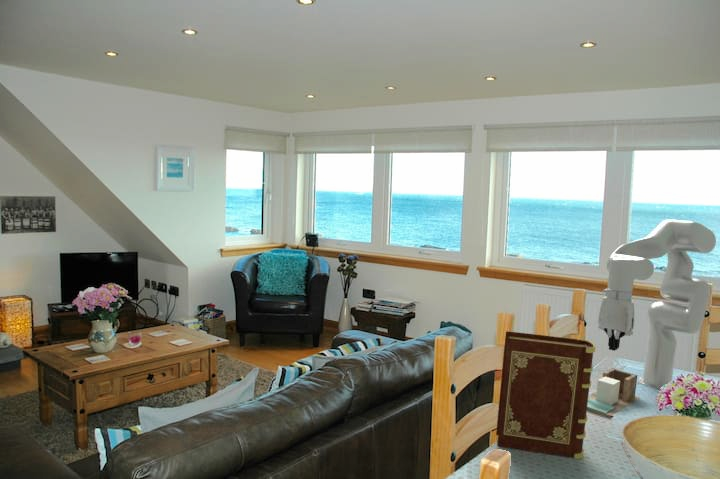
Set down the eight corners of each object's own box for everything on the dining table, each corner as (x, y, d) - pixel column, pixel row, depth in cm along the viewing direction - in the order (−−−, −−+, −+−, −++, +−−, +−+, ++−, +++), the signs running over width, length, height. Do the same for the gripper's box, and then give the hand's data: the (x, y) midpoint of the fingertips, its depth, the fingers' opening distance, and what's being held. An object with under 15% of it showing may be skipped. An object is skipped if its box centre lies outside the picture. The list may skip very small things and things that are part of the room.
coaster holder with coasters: (604, 389, 198) (607, 366, 197) (640, 400, 189) (642, 376, 188) (573, 405, 180) (575, 380, 180) (610, 418, 172) (613, 392, 171)
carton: (602, 396, 188) (605, 376, 187) (617, 401, 185) (620, 380, 184) (595, 400, 184) (597, 380, 183) (610, 405, 180) (613, 384, 180)
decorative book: (579, 446, 151) (591, 340, 148) (585, 460, 143) (598, 348, 140) (496, 434, 155) (505, 330, 152) (497, 447, 148) (507, 338, 144)
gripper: (591, 292, 184) (586, 345, 186) (638, 300, 173) (632, 357, 175) (601, 289, 189) (595, 342, 191) (647, 298, 178) (641, 353, 180)
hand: (613, 349), depth 183 cm, fingers closed
